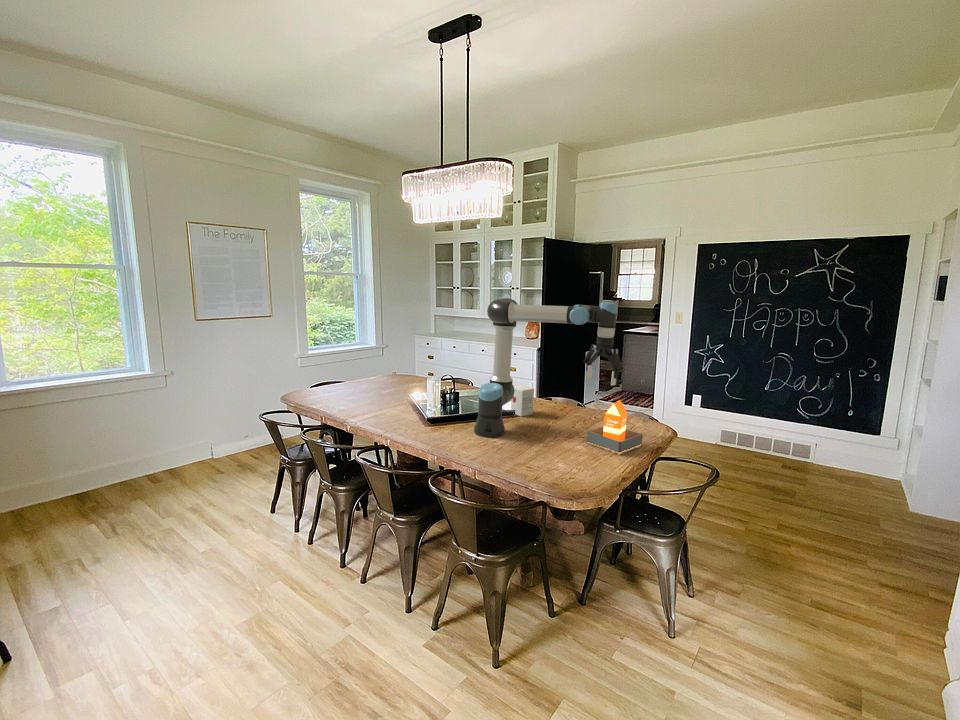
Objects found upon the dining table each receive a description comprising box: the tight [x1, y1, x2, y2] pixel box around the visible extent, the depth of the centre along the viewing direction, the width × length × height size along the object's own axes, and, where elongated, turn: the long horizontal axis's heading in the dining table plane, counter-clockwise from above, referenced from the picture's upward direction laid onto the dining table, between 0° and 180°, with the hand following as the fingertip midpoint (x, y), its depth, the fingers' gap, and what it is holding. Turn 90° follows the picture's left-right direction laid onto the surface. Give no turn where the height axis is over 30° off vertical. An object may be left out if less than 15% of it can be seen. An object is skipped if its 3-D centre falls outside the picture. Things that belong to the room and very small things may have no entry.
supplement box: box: [510, 384, 535, 418], centre depth 253 cm, size 9×9×15 cm
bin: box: [586, 425, 644, 452], centre depth 210 cm, size 18×18×6 cm
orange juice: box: [603, 399, 628, 441], centre depth 209 cm, size 8×9×20 cm
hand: (600, 381), depth 210 cm, fingers open, 13 cm apart
